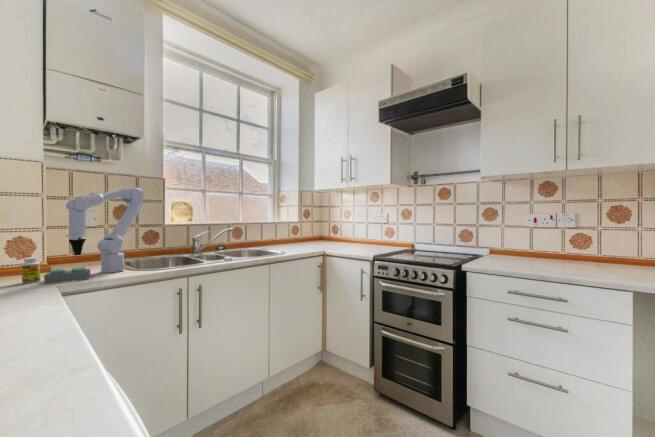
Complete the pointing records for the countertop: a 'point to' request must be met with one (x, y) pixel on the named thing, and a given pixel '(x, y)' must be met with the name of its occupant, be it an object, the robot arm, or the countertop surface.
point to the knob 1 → (57, 271)
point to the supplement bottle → (30, 270)
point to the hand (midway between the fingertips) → (77, 255)
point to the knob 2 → (78, 269)
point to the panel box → (66, 276)
